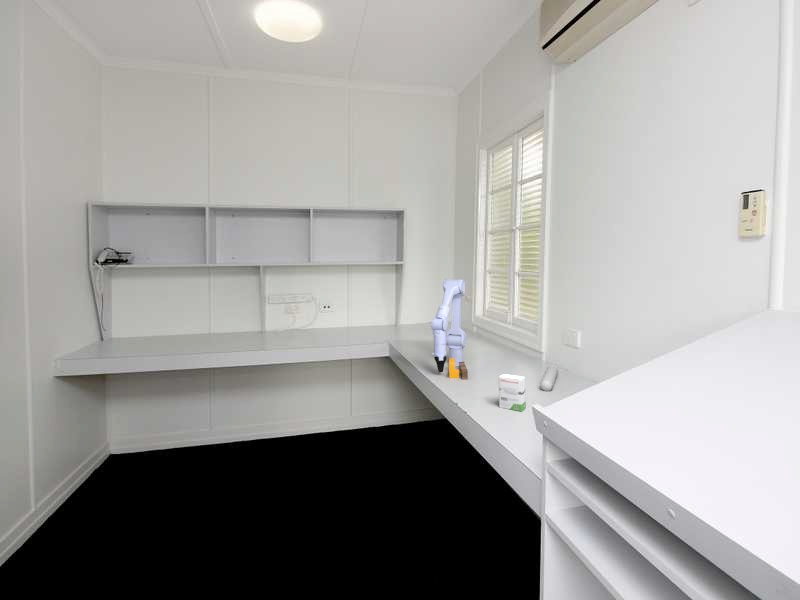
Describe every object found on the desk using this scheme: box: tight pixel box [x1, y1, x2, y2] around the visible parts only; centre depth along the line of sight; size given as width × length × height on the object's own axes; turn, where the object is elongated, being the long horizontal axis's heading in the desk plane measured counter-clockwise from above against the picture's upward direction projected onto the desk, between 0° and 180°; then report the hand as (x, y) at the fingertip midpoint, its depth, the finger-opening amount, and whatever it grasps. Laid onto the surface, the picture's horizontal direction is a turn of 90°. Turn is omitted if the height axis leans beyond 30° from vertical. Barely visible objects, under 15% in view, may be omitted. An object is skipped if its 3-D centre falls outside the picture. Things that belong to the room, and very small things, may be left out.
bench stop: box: [458, 361, 469, 381], centre depth 191 cm, size 16×2×4 cm, turn 177°
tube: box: [539, 364, 559, 392], centre depth 174 cm, size 5×5×25 cm
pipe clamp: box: [448, 358, 460, 379], centre depth 192 cm, size 12×4×6 cm, turn 173°
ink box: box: [498, 373, 527, 412], centre depth 147 cm, size 9×5×12 cm, turn 54°
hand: (440, 371), depth 192 cm, fingers closed
